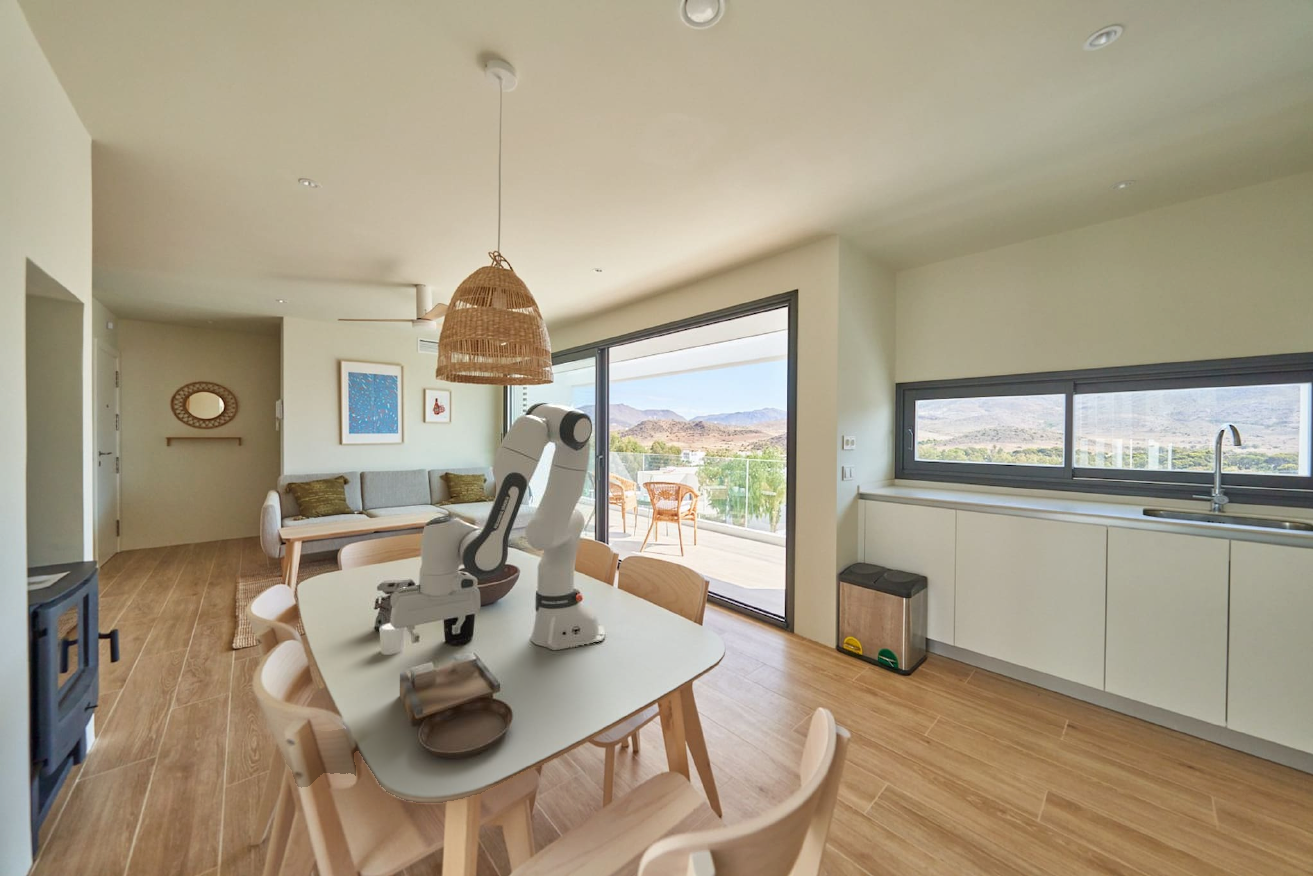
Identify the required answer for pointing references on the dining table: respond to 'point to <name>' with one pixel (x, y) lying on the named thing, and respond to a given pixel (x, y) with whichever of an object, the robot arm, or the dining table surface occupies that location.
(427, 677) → the off-white small block
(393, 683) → the dining table surface
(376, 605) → the figurine
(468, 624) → the portable speaker
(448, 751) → the plant saucer
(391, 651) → the white cylinder
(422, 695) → the brown and grey tray
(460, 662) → the silver block
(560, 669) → the dining table surface
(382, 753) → the dining table surface
